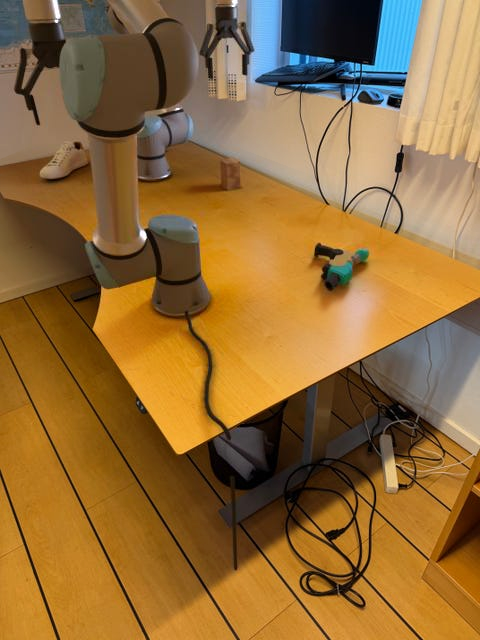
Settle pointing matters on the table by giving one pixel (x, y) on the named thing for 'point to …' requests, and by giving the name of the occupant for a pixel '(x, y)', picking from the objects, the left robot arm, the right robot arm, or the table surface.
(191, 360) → the table surface
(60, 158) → the sneaker
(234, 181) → the brick
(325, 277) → the toy gun
